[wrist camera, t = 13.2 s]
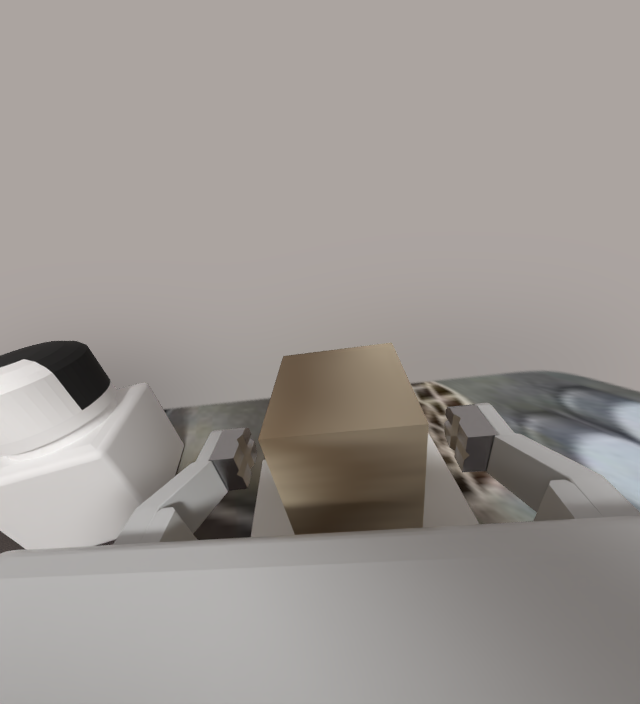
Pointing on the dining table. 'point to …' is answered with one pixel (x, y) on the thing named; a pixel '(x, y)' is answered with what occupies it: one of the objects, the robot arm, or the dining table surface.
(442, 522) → the white pegged board
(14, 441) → the medicine bottle
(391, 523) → the maple block
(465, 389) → the dining table surface
